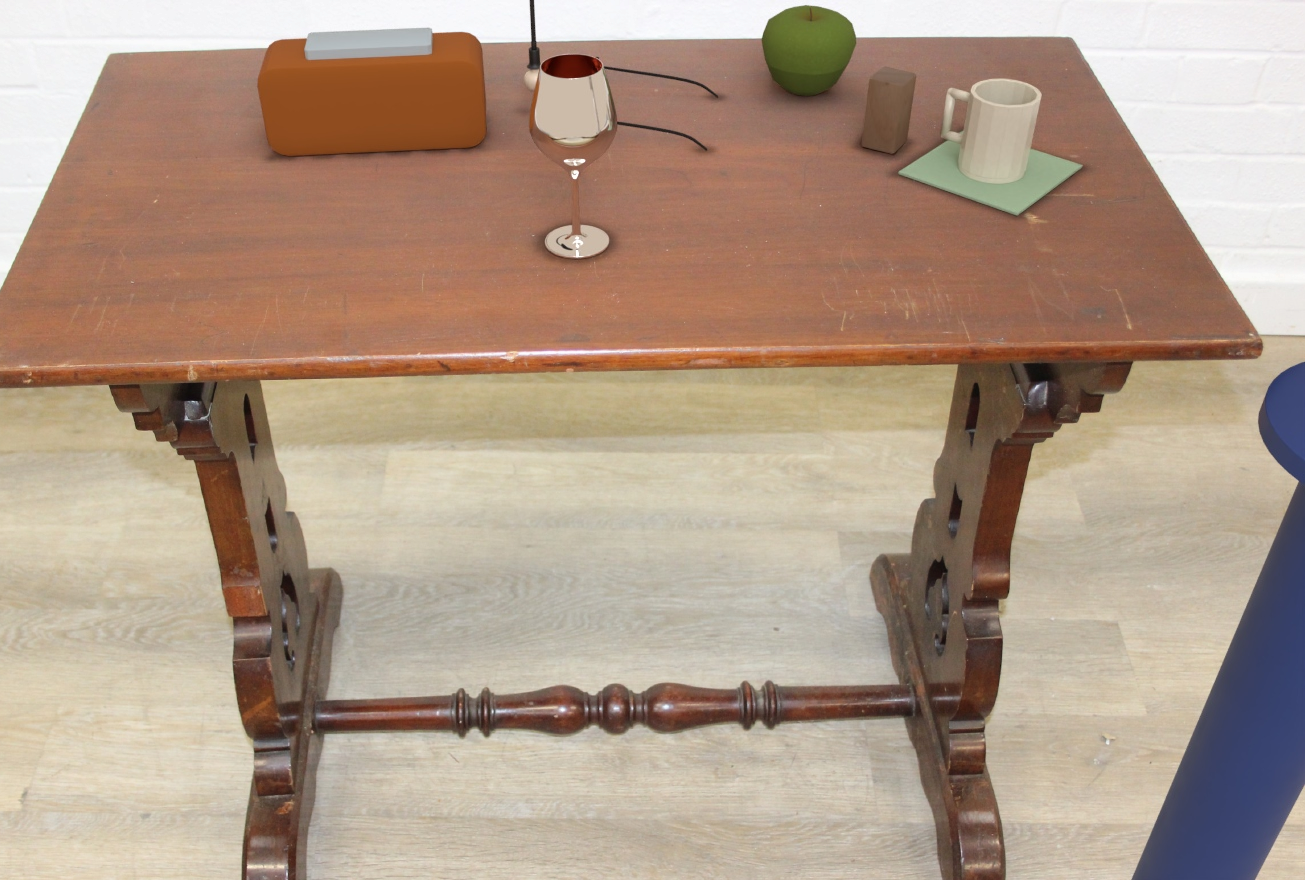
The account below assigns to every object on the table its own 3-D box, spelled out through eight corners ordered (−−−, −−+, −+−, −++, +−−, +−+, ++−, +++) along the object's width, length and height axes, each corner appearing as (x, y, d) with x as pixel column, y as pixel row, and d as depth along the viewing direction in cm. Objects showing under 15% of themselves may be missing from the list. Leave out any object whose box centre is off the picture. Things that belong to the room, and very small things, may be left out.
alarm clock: (487, 116, 154) (480, 19, 147) (487, 148, 148) (480, 48, 141) (278, 125, 153) (261, 28, 146) (269, 158, 147) (251, 58, 139)
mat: (1082, 167, 142) (1082, 165, 142) (1017, 215, 134) (1017, 213, 134) (966, 130, 149) (966, 127, 149) (898, 174, 142) (898, 171, 141)
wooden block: (893, 155, 145) (903, 85, 140) (859, 147, 147) (868, 77, 141) (907, 141, 147) (918, 72, 142) (874, 133, 149) (883, 64, 144)
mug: (1037, 167, 142) (1053, 90, 136) (1004, 190, 138) (1020, 113, 132) (954, 140, 147) (967, 65, 141) (920, 162, 143) (932, 86, 138)
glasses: (593, 90, 159) (597, 50, 156) (715, 110, 158) (722, 70, 155) (572, 143, 148) (577, 101, 145) (704, 165, 148) (711, 123, 144)
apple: (756, 107, 155) (761, 22, 148) (760, 71, 163) (765, -11, 156) (850, 111, 154) (860, 26, 147) (850, 75, 162) (859, -8, 155)
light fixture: (564, 119, 153) (556, -108, 137) (506, 120, 153) (492, -108, 137) (566, 95, 158) (559, -127, 142) (510, 95, 158) (497, -126, 142)
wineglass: (539, 266, 128) (530, 87, 116) (531, 225, 134) (522, 51, 123) (623, 260, 129) (623, 81, 117) (611, 219, 135) (610, 45, 123)
